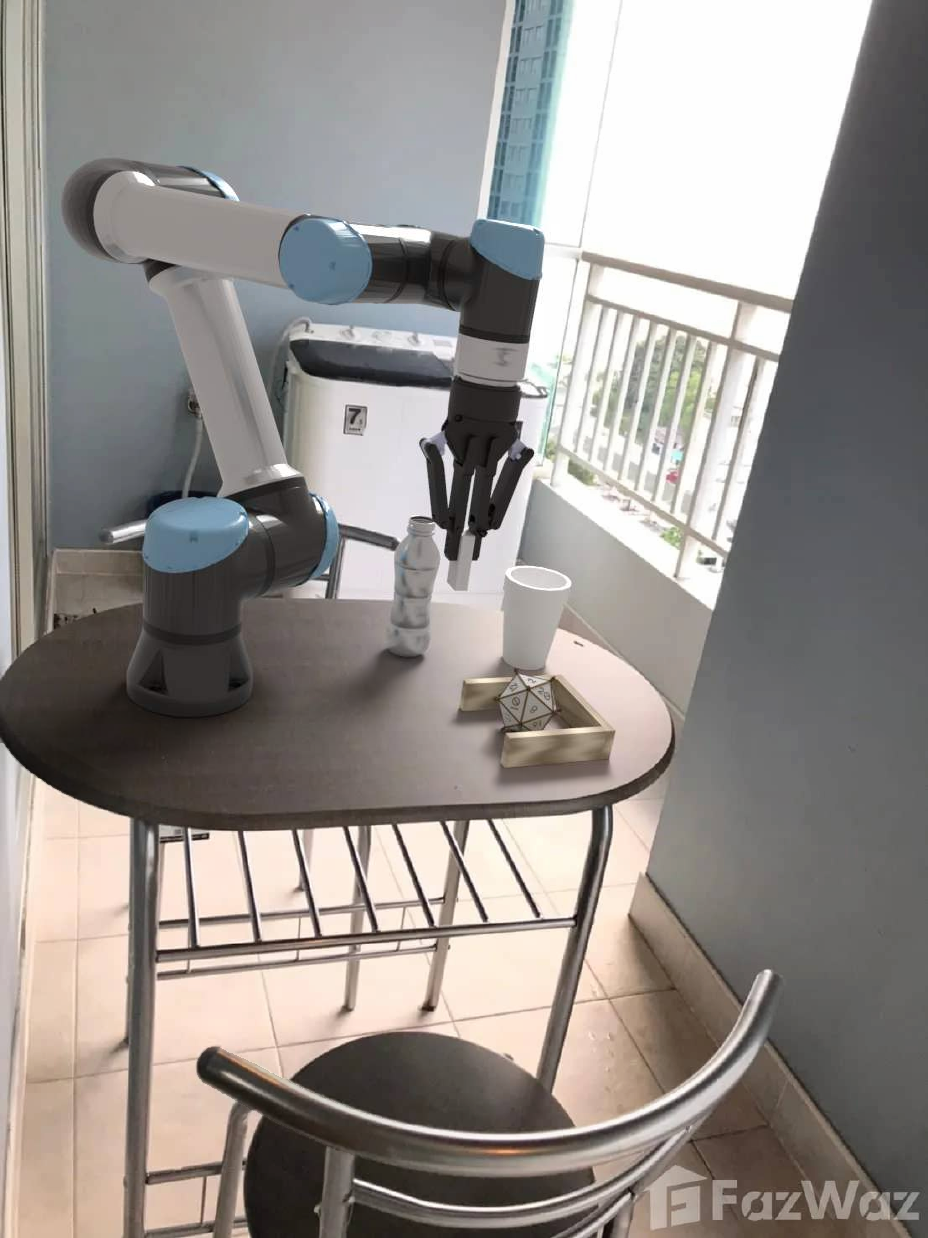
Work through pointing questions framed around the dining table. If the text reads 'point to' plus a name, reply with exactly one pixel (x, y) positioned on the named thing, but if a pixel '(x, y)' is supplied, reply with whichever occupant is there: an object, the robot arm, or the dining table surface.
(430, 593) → the plastic bottle
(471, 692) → the corral
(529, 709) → the game die
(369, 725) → the dining table surface
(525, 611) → the foam cup
